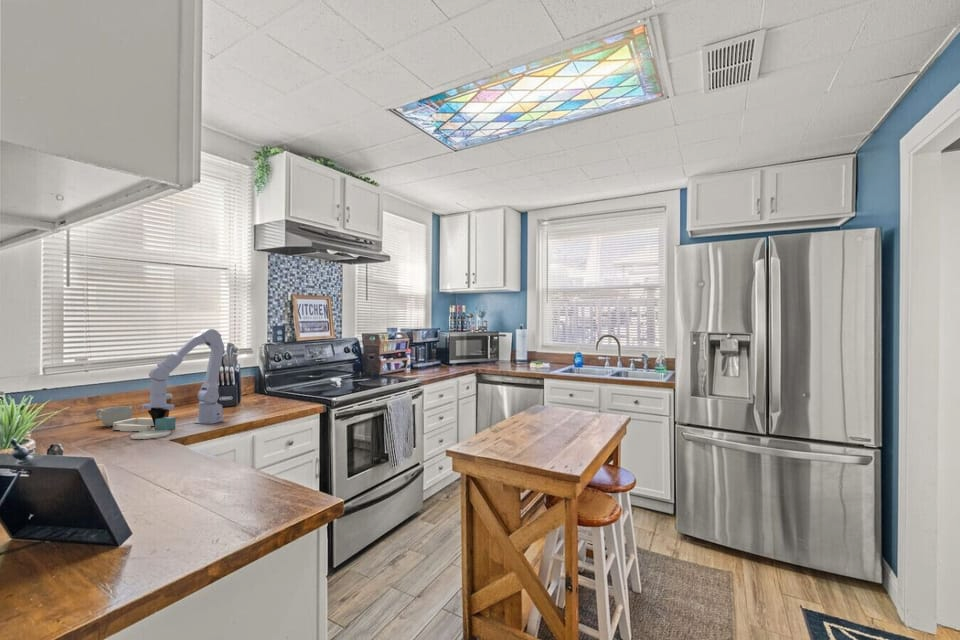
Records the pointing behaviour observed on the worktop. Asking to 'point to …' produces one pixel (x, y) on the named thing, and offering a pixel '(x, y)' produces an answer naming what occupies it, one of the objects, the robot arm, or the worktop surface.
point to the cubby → (134, 424)
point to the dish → (151, 434)
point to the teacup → (114, 414)
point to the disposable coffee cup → (168, 401)
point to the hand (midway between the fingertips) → (157, 425)
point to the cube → (165, 423)
